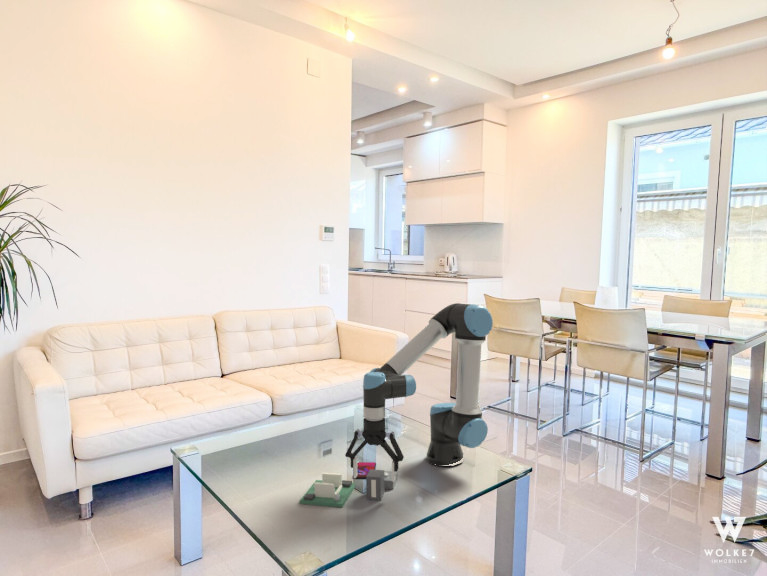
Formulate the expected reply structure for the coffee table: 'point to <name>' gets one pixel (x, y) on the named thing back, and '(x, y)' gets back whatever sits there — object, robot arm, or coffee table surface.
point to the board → (328, 491)
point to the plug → (375, 484)
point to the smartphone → (364, 469)
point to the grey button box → (389, 480)
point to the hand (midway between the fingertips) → (374, 478)
